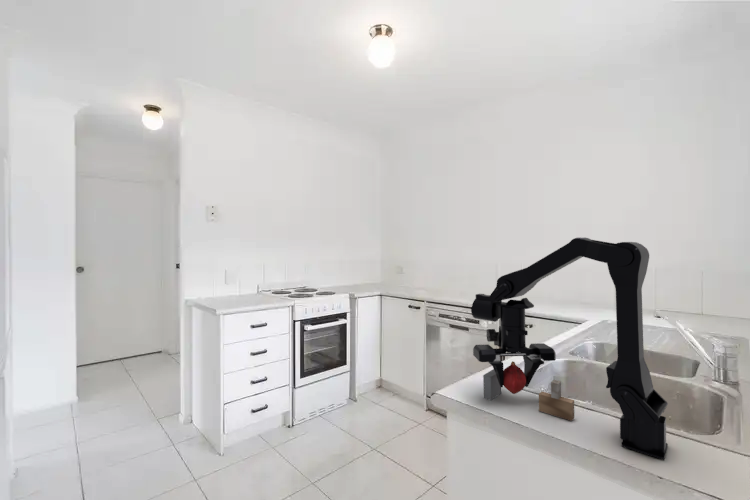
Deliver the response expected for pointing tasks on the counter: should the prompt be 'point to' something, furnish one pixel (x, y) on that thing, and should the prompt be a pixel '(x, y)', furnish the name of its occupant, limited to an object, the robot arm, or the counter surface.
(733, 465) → the counter surface
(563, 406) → the door
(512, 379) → the onion
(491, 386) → the jamb
